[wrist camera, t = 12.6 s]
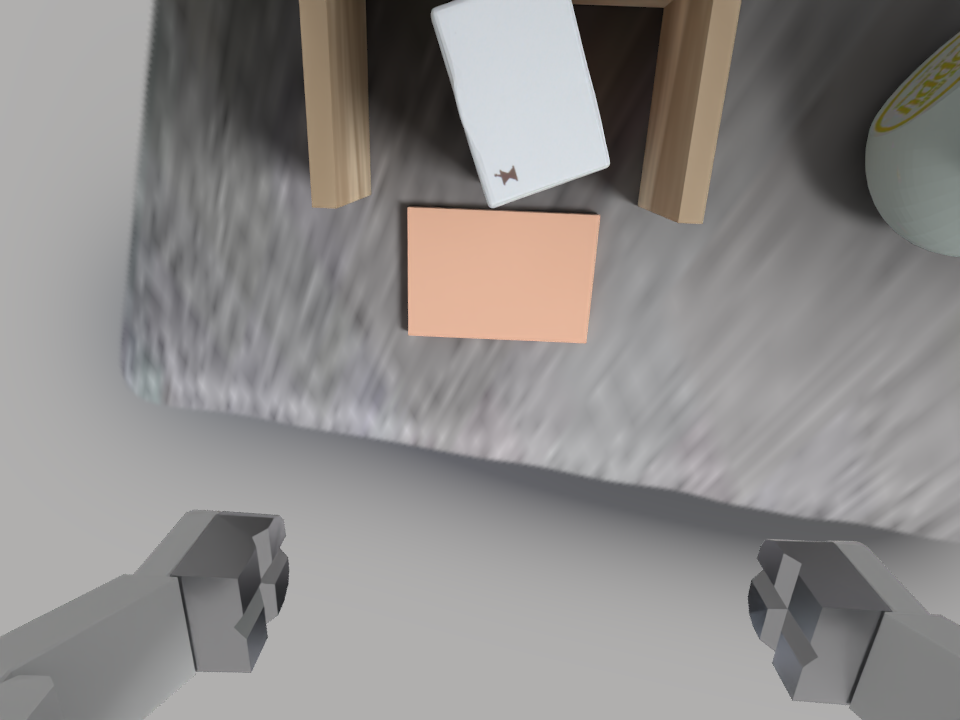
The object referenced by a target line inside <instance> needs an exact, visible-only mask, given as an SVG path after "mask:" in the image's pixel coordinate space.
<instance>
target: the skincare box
mask: <svg viewBox="0 0 960 720" xmlns="http://www.w3.org/2000/svg"><path fill="white" fill-rule="evenodd" d="M431 19H432V23H433V26H434V30H435V33H436V36H437V39H438V43H439V46H440V49H441V53H442V56H443V59H444V62H445V66H446V69H447V72H448V75H449V79H450V82H451V85H452V89H453V92H454V96H455V100H456V104H457V108H458V112H459V116H460V119H461V122H462V125H463V127H464V130H465V134H466V137H467V141H468V144H469V147H470V151H471V154H472V157H473V160H474V163H475V167H476V170H477V173H478V176H479V180H480V183H481V186H482V189H483V192H484V195H485V198H486V201H487V204H488V206H489V207H490V208H496V207H498V206H501V205H504V204H506V203H509V202H512V201H515V200H517V199H520V198H523V197H526V196H529V195H532V194H535V193H537V192H540V191H543V190H546V189H549V188H552V187H554V186H557V185H560V184H563V183H566V182H569V181H571V180H574V179H577V178H580V177H583V176H586V175H588V174H591V173H594V172H597V171H600V170H603V169H605V168H607V167H609V165H610V159H609V155H608V150H607V146H606V141H605V136H604V131H603V127H602V122H601V117H600V113H599V109H598V104H597V100H596V96H595V92H594V89H593V85H592V81H591V77H590V74H589V70H588V66H587V62H586V58H585V54H584V50H583V46H582V42H581V38H580V33H579V29H578V25H577V21H576V17H575V13H574V9H573V4H572V0H454V1H451V2H449V3H446V4H443V5H440V6H437V7H435V8H433V9H432V11H431Z"/></svg>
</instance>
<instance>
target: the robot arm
mask: <svg viewBox="0 0 960 720" xmlns="http://www.w3.org/2000/svg"><path fill="white" fill-rule="evenodd" d="M285 537H286V533H285V526H284V519H283V518H282V517H281V516H280V515H270V514H255V513H241V512H228V511H227V512H226V511H223V512H220V511H208V510H207V511H206V510H192V511H189V512H187V513H186V514H185V515H184V516H183V517H182V518H181V519H180V520H179V521H178V523H177V524H176V525H175V526H174V527H173V529H172V530H171V531H170V532H169V533H168V534H167V536H166V537H165V538H164V539H163V540H162V541H161V543H160V544H159V545H158V546H157V547H156V548H155V550H154V551H153V552H152V553H151V554H150V556H149V557H148V558H147V559H146V560H145V561H144V563H143V564H142V565H141V566H140V567H139V568H138V570H137V571H136V572H135V573H134V574H133V575H127V574H123V575H122V576H119V577H118V578H116V579H113V580H112V581H110V582H108V583H105V584H103V585H102V586H100V587H98V588H96V589H94V590H92V591H90V592H88V593H86V594H84V595H82V596H80V597H78V598H76V599H74V600H72V601H70V602H68V603H66V604H64V605H62V606H60V607H58V608H56V609H54V610H52V611H50V612H48V613H46V614H44V615H42V616H40V617H38V618H36V619H34V620H32V621H30V622H28V623H26V624H24V625H22V626H21V627H18V628H17V629H14V630H12V631H10V632H9V633H7V634H5V635H3V636H1V637H0V720H143V719H144V718H145V717H147V716H148V715H149V714H150V713H151V712H153V711H154V710H155V709H156V708H157V707H158V706H160V705H161V704H162V703H163V702H164V701H165V700H167V699H168V698H169V697H170V696H171V695H173V693H175V692H176V691H177V690H178V689H180V688H181V687H182V686H183V685H184V684H185V683H187V682H188V681H189V680H190V679H191V678H192V677H194V676H195V675H196V672H202V671H203V672H243V673H251V671H252V670H253V668H254V665H255V663H256V661H257V659H258V657H259V655H260V653H261V651H262V649H263V646H264V644H265V642H266V640H267V638H268V635H267V627H266V624H267V623H268V622H269V621H271V620H272V619H274V618H275V617H276V616H278V614H279V612H280V610H281V607H282V605H283V603H284V600H285V596H286V592H287V587H288V582H289V562H288V557H287V556H286V554H285V553H284V552H282V550H281V549H280V546H281V544H282V542H283V541H284V538H285ZM757 560H758V562H759V563H760V565H761V567H762V568H763V570H762V571H761V572H760V573H759V574H758V575H757V576H755V577H754V578H753V579H752V580H751V584H750V589H749V593H748V604H749V605H748V606H749V615H750V618H751V621H752V625H753V627H754V629H755V631H756V633H757V635H758V637H759V639H760V640H761V641H762V642H764V643H765V644H766V645H768V646H769V647H770V648H771V649H773V650H774V651H775V655H774V658H773V662H772V664H773V666H774V667H775V669H776V671H777V673H778V675H779V677H780V678H781V680H782V682H783V684H784V686H785V688H786V690H787V691H788V693H789V695H790V697H791V699H792V700H793V701H804V702H816V703H829V704H841V705H850V707H849V708H850V709H851V710H852V711H853V712H854V713H855V714H856V715H858V716H859V717H860V718H861V719H862V720H960V625H958V624H956V623H955V622H953V621H951V620H949V619H947V618H946V617H943V616H942V615H935V614H930V613H929V612H928V611H927V610H926V609H925V608H924V607H923V606H922V605H921V604H920V603H919V601H918V600H917V599H916V598H915V597H914V596H913V595H912V594H911V593H910V592H909V591H908V590H907V589H906V588H905V587H904V585H903V584H902V583H901V582H900V581H899V580H898V579H897V578H896V577H895V576H894V575H893V574H892V572H890V570H889V569H887V567H886V566H884V564H883V563H882V562H881V561H880V560H879V559H878V558H877V556H876V555H875V554H874V553H873V552H872V551H871V550H870V549H869V548H868V547H867V546H866V545H864V544H862V543H860V542H858V541H826V542H820V541H798V540H775V539H765V541H764V542H763V544H762V545H761V546H760V550H759V553H758V556H757ZM195 671H196V672H195Z"/></svg>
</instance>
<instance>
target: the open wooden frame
mask: <svg viewBox="0 0 960 720" xmlns="http://www.w3.org/2000/svg"><path fill="white" fill-rule="evenodd" d="M572 4H583V5H609V6H634V7H660V8H664V11H663V19H662V26H661V34H660V41H659V49H658V56H657V64H656V71H655V79H654V87H653V94H652V102H651V109H650V117H649V124H648V132H647V139H646V147H645V154H644V162H643V169H642V177H641V184H640V192H639V199H638V206H639V207H641V208H644V209H646V210H648V211H651V212H653V213H656V214H658V215H660V216H663V217H665V218H668V219H670V220H672V221H675V222H677V223H692V224H703V219H704V213H705V207H706V201H707V196H708V190H709V184H710V178H711V173H712V167H713V161H714V156H715V150H716V144H717V138H718V133H719V127H720V121H721V115H722V110H723V104H724V98H725V92H726V87H727V81H728V75H729V69H730V64H731V58H732V52H733V46H734V41H735V35H736V29H737V23H738V18H739V12H740V6H741V0H572ZM299 8H300V24H301V40H302V55H303V71H304V87H305V102H306V118H307V133H308V149H309V165H310V180H311V196H312V207H315V208H339V207H341V206H344V205H346V204H349V203H351V202H354V201H356V200H359V199H362V198H364V197H367V196H369V195H371V172H370V136H369V101H368V65H367V30H366V0H299Z"/></svg>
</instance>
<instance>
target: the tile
mask: <svg viewBox="0 0 960 720" xmlns="http://www.w3.org/2000/svg"><path fill="white" fill-rule="evenodd" d="M599 223H600V215H599V214H584V213H561V212H537V211H513V210H490V209H466V208H443V207H419V206H409V207H408V335H412V336H434V337H457V338H479V339H502V340H524V341H547V342H569V343H586V340H587V331H588V322H589V313H590V304H591V295H592V286H593V277H594V268H595V259H596V250H597V241H598V232H599Z"/></svg>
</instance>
